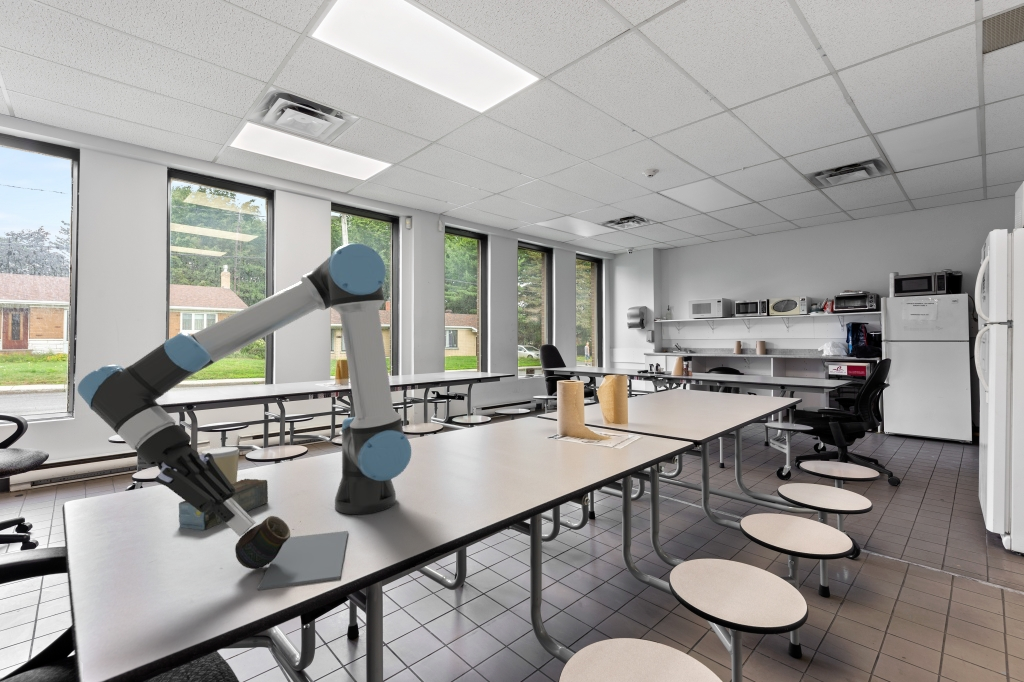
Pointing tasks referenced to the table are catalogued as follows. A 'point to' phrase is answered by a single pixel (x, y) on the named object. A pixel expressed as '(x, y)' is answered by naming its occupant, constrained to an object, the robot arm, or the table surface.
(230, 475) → the coffee cup
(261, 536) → the mate gourd
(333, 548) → the mat
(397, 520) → the table surface
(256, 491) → the beverage carton
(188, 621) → the table surface
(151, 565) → the table surface
